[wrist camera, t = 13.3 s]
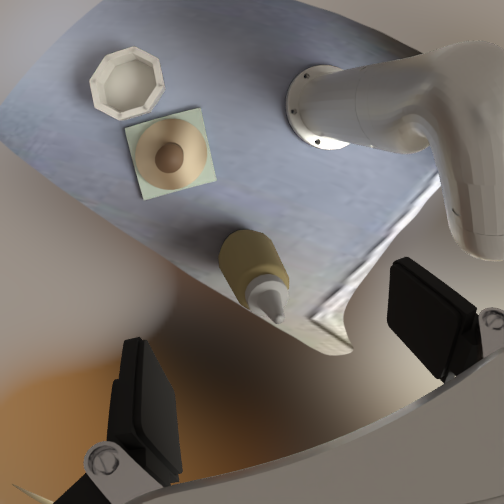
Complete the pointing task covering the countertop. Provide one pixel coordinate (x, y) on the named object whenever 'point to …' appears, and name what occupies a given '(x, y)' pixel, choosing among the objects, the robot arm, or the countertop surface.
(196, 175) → the lid
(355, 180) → the countertop surface
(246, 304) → the squeeze bottle
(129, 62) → the bowl
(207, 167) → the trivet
